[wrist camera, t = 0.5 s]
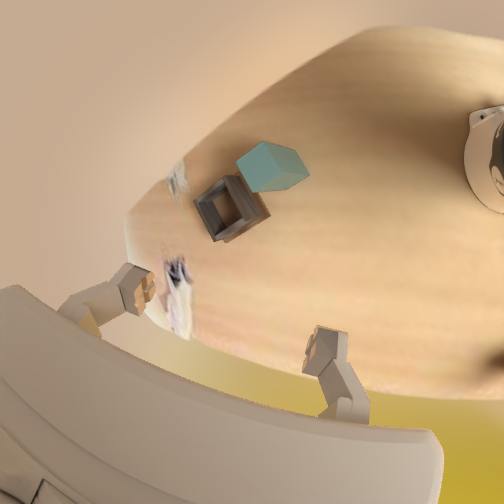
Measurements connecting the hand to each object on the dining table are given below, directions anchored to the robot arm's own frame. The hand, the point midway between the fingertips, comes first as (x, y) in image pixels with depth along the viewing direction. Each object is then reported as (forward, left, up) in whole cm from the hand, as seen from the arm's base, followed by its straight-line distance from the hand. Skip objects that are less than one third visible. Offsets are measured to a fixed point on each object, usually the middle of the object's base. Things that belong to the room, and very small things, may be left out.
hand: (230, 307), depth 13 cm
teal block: (+5, -12, -35) cm, 37 cm away
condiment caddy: (+18, -12, -35) cm, 41 cm away
